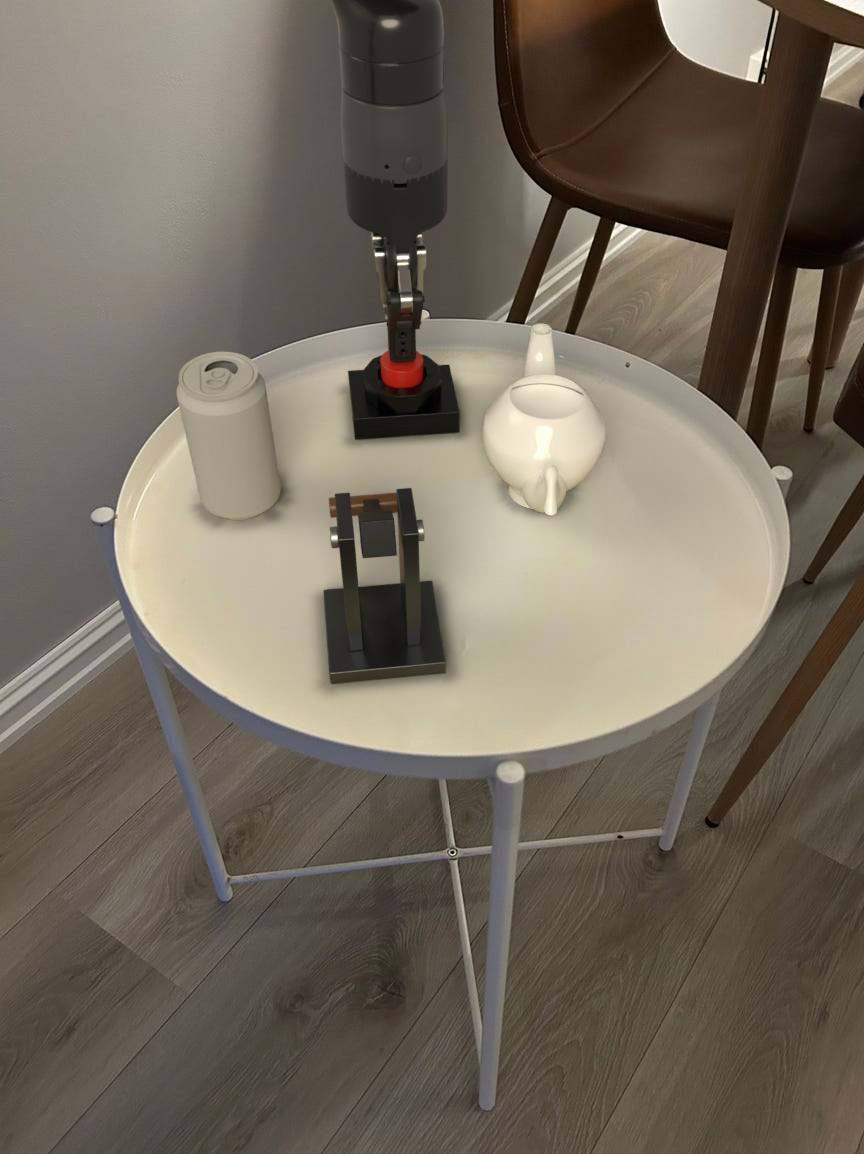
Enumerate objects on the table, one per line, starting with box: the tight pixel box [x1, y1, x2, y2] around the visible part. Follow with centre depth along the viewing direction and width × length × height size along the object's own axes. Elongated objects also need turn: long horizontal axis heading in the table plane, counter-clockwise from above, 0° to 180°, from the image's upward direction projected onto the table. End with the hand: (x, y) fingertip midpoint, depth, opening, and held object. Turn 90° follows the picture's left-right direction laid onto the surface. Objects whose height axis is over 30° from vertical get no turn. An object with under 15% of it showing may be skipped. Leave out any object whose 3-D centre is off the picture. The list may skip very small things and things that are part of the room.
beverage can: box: [176, 351, 282, 521], centre depth 81 cm, size 6×6×12 cm
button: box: [380, 350, 423, 388], centre depth 91 cm, size 4×4×2 cm
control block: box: [347, 353, 461, 441], centre depth 93 cm, size 9×7×4 cm
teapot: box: [481, 323, 607, 516], centre depth 84 cm, size 10×20×9 cm, turn 0°
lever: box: [328, 492, 398, 559], centre depth 73 cm, size 11×6×2 cm, turn 8°
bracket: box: [322, 487, 447, 685], centre depth 72 cm, size 8×8×12 cm
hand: (402, 357), depth 90 cm, fingers closed
